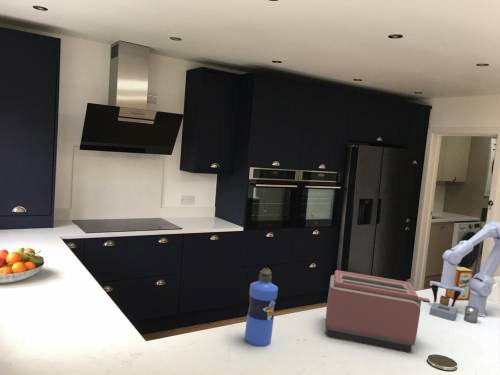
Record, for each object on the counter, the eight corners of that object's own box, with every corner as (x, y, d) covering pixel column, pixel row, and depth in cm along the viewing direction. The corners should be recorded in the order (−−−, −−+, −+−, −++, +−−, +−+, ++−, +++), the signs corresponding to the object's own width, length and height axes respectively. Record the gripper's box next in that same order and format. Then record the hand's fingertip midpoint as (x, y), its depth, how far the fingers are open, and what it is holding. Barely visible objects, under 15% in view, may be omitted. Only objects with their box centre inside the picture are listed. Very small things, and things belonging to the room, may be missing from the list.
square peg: (439, 307, 205) (441, 295, 205) (447, 309, 203) (449, 297, 203) (438, 309, 202) (440, 297, 202) (446, 311, 200) (448, 299, 200)
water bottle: (276, 340, 148) (285, 270, 146) (261, 349, 140) (270, 275, 138) (253, 331, 153) (262, 263, 151) (238, 339, 145) (247, 267, 143)
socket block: (433, 308, 202) (433, 302, 202) (456, 315, 197) (457, 308, 197) (429, 314, 194) (430, 307, 193) (453, 321, 188) (454, 314, 188)
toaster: (427, 357, 149) (437, 300, 147) (323, 337, 156) (331, 281, 154) (417, 335, 168) (425, 284, 166) (324, 317, 175) (331, 268, 173)
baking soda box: (459, 295, 229) (464, 266, 227) (469, 300, 222) (474, 270, 221) (445, 295, 226) (449, 266, 224) (454, 300, 219) (459, 269, 218)
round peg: (464, 317, 195) (466, 304, 194) (477, 321, 192) (479, 308, 192) (463, 320, 190) (465, 307, 190) (476, 324, 188) (478, 311, 187)
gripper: (430, 273, 202) (426, 301, 203) (464, 281, 194) (459, 310, 195) (433, 270, 208) (428, 298, 209) (466, 278, 200) (461, 307, 201)
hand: (443, 304), depth 202 cm, fingers open, 7 cm apart
